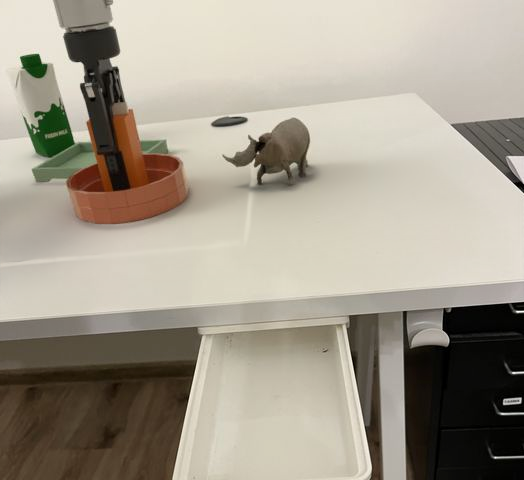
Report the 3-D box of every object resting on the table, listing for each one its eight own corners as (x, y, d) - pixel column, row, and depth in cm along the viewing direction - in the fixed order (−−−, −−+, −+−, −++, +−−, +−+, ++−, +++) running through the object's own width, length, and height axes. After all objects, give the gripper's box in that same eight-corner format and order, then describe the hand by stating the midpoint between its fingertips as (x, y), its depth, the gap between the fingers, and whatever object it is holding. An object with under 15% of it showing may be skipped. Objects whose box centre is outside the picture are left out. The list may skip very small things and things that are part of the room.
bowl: (54, 226, 89) (42, 193, 86) (111, 183, 104) (103, 154, 101) (160, 228, 84) (152, 193, 81) (204, 183, 99) (199, 152, 95)
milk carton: (46, 159, 123) (13, 60, 111) (30, 153, 128) (-3, 58, 117) (82, 148, 127) (53, 51, 115) (64, 143, 133) (36, 50, 121)
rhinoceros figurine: (341, 152, 96) (295, 87, 86) (300, 216, 95) (247, 159, 85) (312, 149, 102) (264, 88, 92) (272, 210, 101) (220, 155, 91)
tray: (35, 181, 110) (31, 169, 109) (81, 153, 124) (78, 142, 122) (130, 180, 104) (127, 167, 103) (168, 151, 118) (165, 139, 116)
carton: (108, 204, 91) (82, 111, 82) (116, 191, 96) (93, 101, 87) (143, 201, 91) (121, 107, 82) (150, 188, 95) (130, 98, 87)
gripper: (96, 33, 71) (137, 205, 84) (128, 17, 86) (158, 165, 100) (40, 39, 71) (90, 209, 85) (81, 23, 87) (118, 169, 100)
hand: (127, 185), depth 92 cm, fingers closed on carton, 6 cm apart
